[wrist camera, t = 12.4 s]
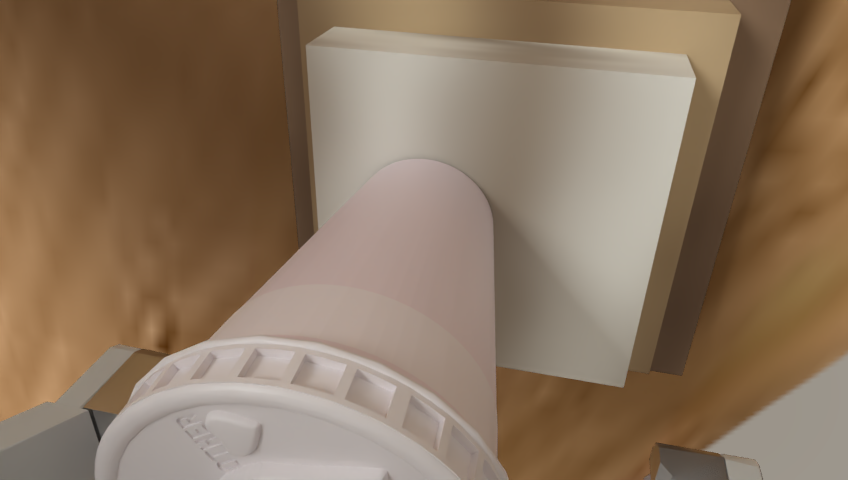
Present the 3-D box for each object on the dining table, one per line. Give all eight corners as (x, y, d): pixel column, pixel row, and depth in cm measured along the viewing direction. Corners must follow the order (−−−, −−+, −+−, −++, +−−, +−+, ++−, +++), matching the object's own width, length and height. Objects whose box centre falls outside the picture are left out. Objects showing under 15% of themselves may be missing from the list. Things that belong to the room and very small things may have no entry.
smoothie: (600, 217, 17) (643, 1133, 5) (445, 353, 20) (252, 1093, 8) (396, 52, 15) (-178, 732, 4) (268, 226, 19) (-246, 874, 7)
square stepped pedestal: (322, 285, 27) (259, 383, 22) (296, -93, 20) (195, -74, 15) (676, 340, 25) (695, 464, 20) (789, -71, 18) (863, -40, 13)
